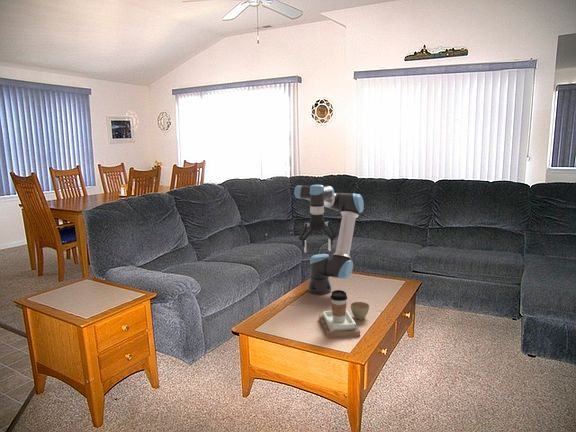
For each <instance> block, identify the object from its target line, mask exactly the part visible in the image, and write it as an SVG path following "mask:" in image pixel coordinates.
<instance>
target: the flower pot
mask: <svg viewBox="0 0 576 432" xmlns="http://www.w3.org/2000/svg"><path fill="white" fill-rule="evenodd" d="M350 310H351V313H352V315H353V317H354V319H356V320H364V319H365V318H366V317H367V315H368V313H369V310H370V304H369V303H367V302H363V301H354V302H351V303H350Z"/></svg>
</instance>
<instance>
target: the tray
mask: <svg viewBox="0 0 576 432" xmlns="http://www.w3.org/2000/svg"><path fill="white" fill-rule="evenodd" d="M322 315H323V318H324V320H325V322H326V324H327V326H328V328H329V330H330V331H344V330H356V325H357V323H356V322H355V319H353V317H352V316H351V314H350V313H349V311H348V310H347V309H346V313H345V321H344V322H343V323H335V322H333V314H332V310H322Z"/></svg>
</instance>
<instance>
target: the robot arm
mask: <svg viewBox="0 0 576 432" xmlns="http://www.w3.org/2000/svg"><path fill="white" fill-rule="evenodd" d="M293 195H294V197H295V198H296V199H300V200H307V201H309V213H310V214H309V222H304V225H303V228H302V229H301V232H300V235H299V237H298V240H299V241H301V245H302V247H303V252H304V254H306V253H307V239H308V238H309V236H310V235H311V234H312V233H313V232H314V231H315V232H317V231H323V232H324V233H325V235H326V236H327V237H328V239H327V241H328V243H327V247H328V248H327V249H328V251H329V252H331V251H332V249H331V248H332V246H333V241H334V239H336V238H337V237H338V238H337V242H336V243H337V244H336V247H335V252H334V253H333V254H332V255H331V257H330V255H329V254H327V253H319V254H313V255H312V256H310V258H309V259H310V260H309V267H310V268H309V271H310V272H309V273H310V274H309V275H310V279H309V280H308V281H309V282H308V285H307V291H308V293H310V294H314V295H326V294H329V293H332V285H331V281H330V279H329V277H330V278H336V279H343V280H346V279H348V278H350V277H351V275H352V274H353V273H352V272H353V270H354V262H353V260H352V257H351V256H350V253H351V252H350V251H351V247H352V241H353V236H354V231H355V224H356V219H357V218H359V216H360V214H361V213H363V211H364V209H365V208H364V198H363V196H362V195H361V194H360V193H347V192H335V190H334V188H333V186H330V185H323V184H312V185H301V184H300V185H296V186H295V188H294V192H293ZM325 208H328V209H331V210H333V211H337V212H340V214H341V219H340V220H341V222H340V227H339V233H338V236H336V234H335V232H334V230H333V229H332V227H331V222H330V221H325ZM325 226H326V227H327V228H328V230H329V232H330V233H329V232H328V230H326V228H325ZM308 227H309V229H308ZM307 229H308V230H307ZM306 230H307V232H306Z"/></svg>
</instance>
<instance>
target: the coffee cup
mask: <svg viewBox="0 0 576 432" xmlns="http://www.w3.org/2000/svg"><path fill="white" fill-rule="evenodd" d="M347 299H348V296H347V292H346V291H345V290H341V289H337V290H333V291H331V295H330V300H331V303H330V304H331V311H332V314H333V322H335V323H343V322H344V321H345V313H346V310H347V304H348V303H347Z"/></svg>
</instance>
